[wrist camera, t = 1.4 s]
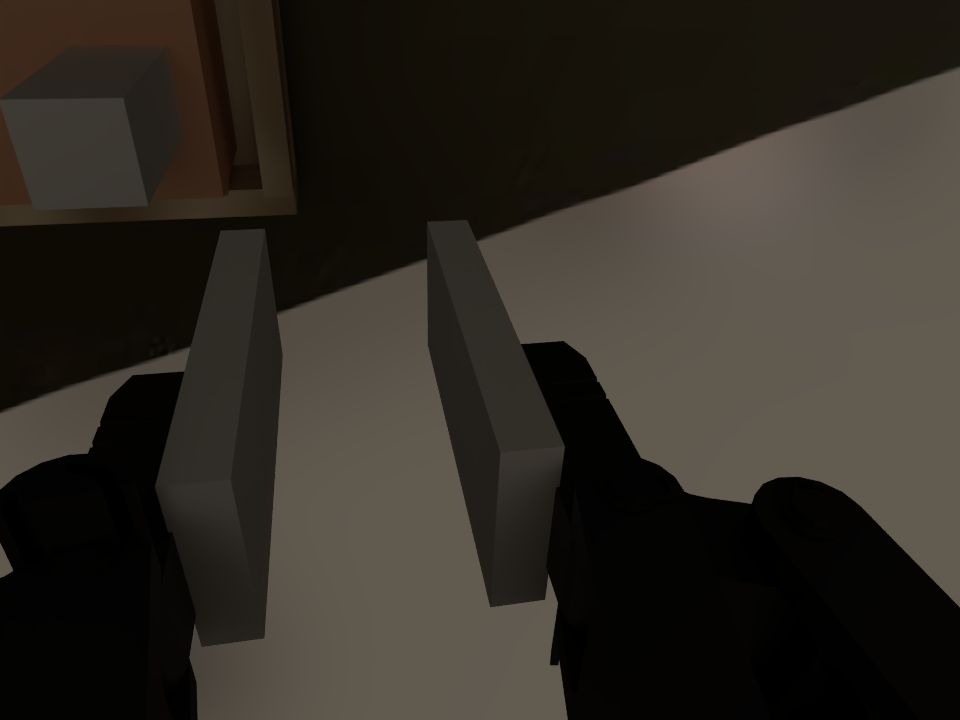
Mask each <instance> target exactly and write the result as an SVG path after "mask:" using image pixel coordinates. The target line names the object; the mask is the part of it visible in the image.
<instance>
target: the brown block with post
mask: <svg viewBox="0 0 960 720" xmlns="http://www.w3.org/2000/svg"><path fill="white" fill-rule="evenodd" d="M236 151H237V145H236V138H235V132H234V125H233V119H232V112H231V105H230V99H229V92H228V86H227V79H226V73H225V66H224V60H223V53H222V47H221V40H220V34H219V27H218V21H217V14H216V8H215V1H214V0H0V205H28V204H32V205H33V208H34V210H55V209H82V208H110V207H137V206H149V204H150V202H151V200H169V199H197V198H224V196H228V193H229V190H230V187H229V181H228V180H229V176H230V173H231V169H232V165H233V162H234V158H235V154H236Z"/></svg>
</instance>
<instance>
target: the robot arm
mask: <svg viewBox="0 0 960 720" xmlns="http://www.w3.org/2000/svg"><path fill="white" fill-rule="evenodd" d="M427 271H428V273H427V274H428V275H427V278H428V347H429V351H430V356H431V360H432V364H433V368H434V372H435V377H436V381H437V385H438V389H439V393H440V398H441V402H442V406H443V410H444V414H445V419H446V423H447V427H448V431H449V435H450V440H451V444H452V448H453V452H454V456H455V461H456V465H457V469H458V473H459V477H460V482H461V486H462V490H463V494H464V499H465V503H466V507H467V511H468V515H469V519H470V524H471V528H472V532H473V536H474V541H475V544H476V549H477V553H478V557H479V562H480V566H481V570H482V573H483V578H484V582H485V587H486V591H487V595H488V599H489V603H490V607H495V606H502V605H509V604H517V603H524V602H531V601H539V600H545V595H546V588H547V579H548V574H549V577H550V579H551V583H552V586H553V589H554V592H555V595H556V598H557V601H558V608H557V614H556V622H555V628H554V636H553V642H552V649H551V659H550V665H558V663H559V661H560V668H561V675H562V681H563V688H564V696H565V703H566V710H567V717H568V720H960V607H959V606H958V605H957V604H956V603H955V602H954V601H953V600H952V599H951V598H950V597H949V596H948V595H947V594H946V593H945V592H944V591H943V590H942V589H941V588H940V587H939V586H938V585H937V584H936V583H935V582H934V581H933V580H932V579H931V578H930V577H929V576H928V575H927V574H926V573H925V572H924V571H923V569H922V568H921V567H920V566H919V565H918V564H917V563H916V562H915V561H914V560H913V559H912V558H911V557H910V556H909V555H908V554H907V553H906V552H905V551H904V550H903V549H902V548H901V547H900V546H899V545H898V544H897V543H896V542H895V541H894V540H893V539H892V538H891V537H890V536H889V535H888V534H887V533H886V532H885V531H884V530H883V529H882V528H881V527H880V526H879V525H878V524H877V523H876V522H875V521H874V520H873V519H872V517H870V515H869V514H868V513H867V512H866V511H865V510H864V509H863V508H862V507H861V506H860V505H858V504H857V503H856V502H854V501H853V500H852V499H851V498H849V497H848V496H847V495H846V494H844V493H843V492H841V491H839V490H837V489H835V488H833V487H831V486H828V485H826V484H824V483H822V482H819V481H815V480H810V479H806V478H801V477H783V478H782V477H781V478H776V479H774V480H771V481H769V482H766V483H764V484H763V485H762V486H761V487H760V489H759V490H758V491H757V493H756V494H755V496H754V499H753V502H752V504H748V503H741V502H734V501H726V500H719V499H711V498H705V497H700V496H696V495H692V494H689V493H686V492H684V490H683V489H682V487H681V486H680V484H679V482H678V481H677V479H676V478H675V477H674V476H673V475H671V474H670V473H669V472H667V471H666V470H665V469H663V468H662V467H661V466H660V465H657V464H655V463H652V462H650V461H647V460H644V459H642V458H641V457H640V455H639V453H638V452H637V450H636V448H635V446H634V445H633V443H632V441H631V439H630V437H629V435H628V434H627V432H626V430H625V428H624V426H623V424H622V423H621V421H620V419H619V417H618V415H617V414H616V412H615V410H614V408H613V406H612V405H611V403H610V401H609V399H606V394H605V392H604V390H603V388H602V386H601V385H600V383H599V382H597V377H596V376H595V374H594V372H593V370H592V368H591V367H590V365H589V363H588V361H587V360H586V358H585V357H584V356H582V355H581V354H580V353H578V352H577V351H576V350H575V349H573V348H572V347H571V346H569V345H568V344H567V343H565V342H564V341H559V342H545V343H532V344H520V341H519V339H518V337H517V335H516V332H515V330H514V328H513V325H512V323H511V321H510V319H509V316H508V314H507V311H506V309H505V307H504V305H503V302H502V300H501V298H500V295H499V293H498V291H497V288H496V286H495V284H494V281H493V279H492V277H491V274H490V272H489V270H488V267H487V265H486V263H485V261H484V258H483V256H482V254H481V251H480V249H479V247H478V244H477V242H476V240H475V237H474V235H473V233H472V230H471V228H470V226H469V223H468V221H467V220H459V221H436V222H427ZM281 371H282V348H281V341H280V334H279V327H278V319H277V312H276V305H275V298H274V291H273V284H272V277H271V270H270V263H269V256H268V248H267V241H266V234H265V229H250V230H227V231H221V232H220V236H219V239H218V243H217V247H216V251H215V255H214V259H213V263H212V267H211V271H210V275H209V278H208V282H207V286H206V290H205V294H204V298H203V302H202V306H201V310H200V314H199V317H198V321H197V325H196V329H195V333H194V337H193V341H192V345H191V349H190V352H189V356H188V360H187V364H186V368H185V372H171V373H158V374H145V375H133V376H132V377H131V378H130V379H129V380H127V381H126V382H125V383H124V384H123V385H122V386H121V387H120V388H119V389H118V390H117V391H116V392H115V393H114V394H113V395H112V396H111V397H110V398H109V401H108V403H107V405H106V408H105V411H104V413H103V416H102V418H101V421H100V427H98V429H97V431H96V434H95V437H94V439H93V442H92V444H93V447H92V448H90V450H89V452H88V454H76V455H67V456H63V457H60V458H56V459H53V460H50V461H46V462H42V463H40V464H38V465H36V466H34V467H33V468H31V469H29V470H27V471H25V472H23V473H21V474H19V475H17V476H16V477H14V478H13V479H12V480H11V481H10V482H9V483H7V485H5V486H4V487H3V488H2V489H0V543H1V545H2V547H3V549H4V551H5V553H6V556H7V558H8V560H9V562H10V564H11V566H12V568H13V572H11V573H9V574H8V575H6V576H4V577H2V578H0V720H198V718H197V686H196V685H197V684H196V679H195V676H194V672H193V669H192V665H191V662H190V659H189V656H190V649H191V643H192V636H193V630H194V624H195V625H196V629H197V632H198V635H199V639H200V642H201V646H202V647H203V646H211V645H218V644H226V643H233V642H239V641H247V640H254V639H262V638H264V634H265V619H266V604H267V587H268V573H269V557H270V542H271V525H272V510H273V495H274V479H275V465H276V449H277V434H278V417H279V402H280V387H281Z"/></svg>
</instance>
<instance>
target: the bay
mask: <svg viewBox="0 0 960 720" xmlns="http://www.w3.org/2000/svg"><path fill="white" fill-rule="evenodd" d="M214 1H215V8H216V14H217V21H218V27H219V34H220V40H221V47H222V53H223V60H224V66H225V73H226V79H227V86H228V92H229V99H230V105H231V112H232V119H233V125H234V132H235V138H236V145H237V151H236V154H235V158H234V162H233V165H232V169H231V173H230V176H229V180H228V181H229V187H230V190H229V193H228V196H224V198H197V199H169V200H151V202H150V204H149V206H137V207H110V208H82V209H55V210H34V208H33V205H32V204H28V205H0V226H20V225H45V224H70V223H95V222H120V221H145V220H170V219H195V218H220V217H245V216H271V215H296V214H297V205H298V185H299V181H298V172H297V163H296V154H295V144H294V135H293V126H292V117H291V108H290V98H289V89H288V80H287V71H286V62H285V52H284V43H283V34H282V25H281V16H280V6H279V0H214Z"/></svg>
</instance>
